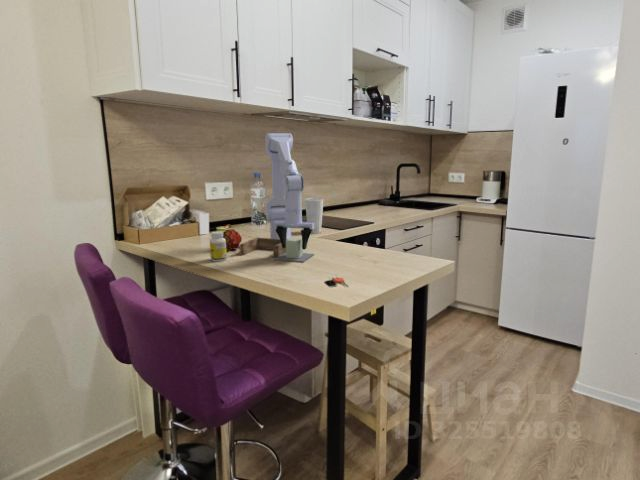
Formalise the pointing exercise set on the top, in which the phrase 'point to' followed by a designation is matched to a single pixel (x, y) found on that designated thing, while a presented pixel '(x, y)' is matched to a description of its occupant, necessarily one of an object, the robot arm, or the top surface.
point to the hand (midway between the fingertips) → (294, 248)
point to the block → (294, 248)
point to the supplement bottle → (218, 247)
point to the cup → (314, 213)
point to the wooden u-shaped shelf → (263, 246)
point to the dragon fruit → (232, 239)
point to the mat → (300, 259)
